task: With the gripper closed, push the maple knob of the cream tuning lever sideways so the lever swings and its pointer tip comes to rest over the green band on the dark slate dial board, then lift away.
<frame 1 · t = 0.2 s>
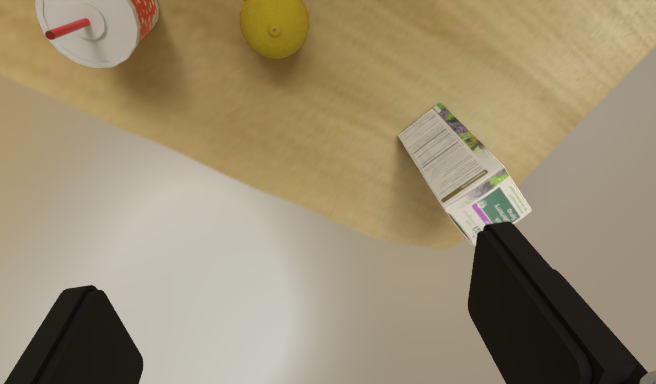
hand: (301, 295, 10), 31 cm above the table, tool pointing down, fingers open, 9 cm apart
beverage cup: (131, 5, 33), on the table
lemon: (274, 14, 35), on the table
syrup box: (429, 136, 43), on the table
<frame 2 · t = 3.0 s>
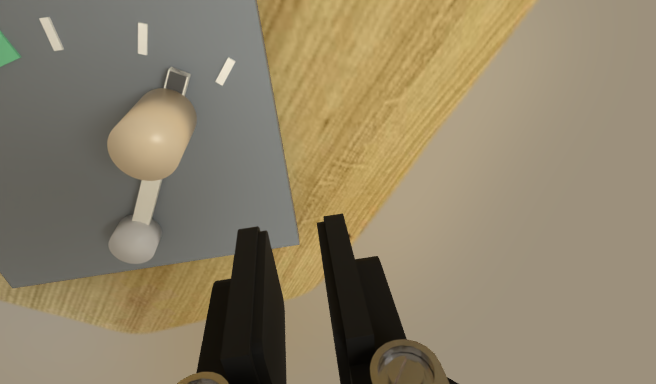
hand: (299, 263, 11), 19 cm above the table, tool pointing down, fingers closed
dial board: (112, 139, 28), on the table
tuning lever: (143, 190, 25), point 5 cm above the table, hinge at 0.0°
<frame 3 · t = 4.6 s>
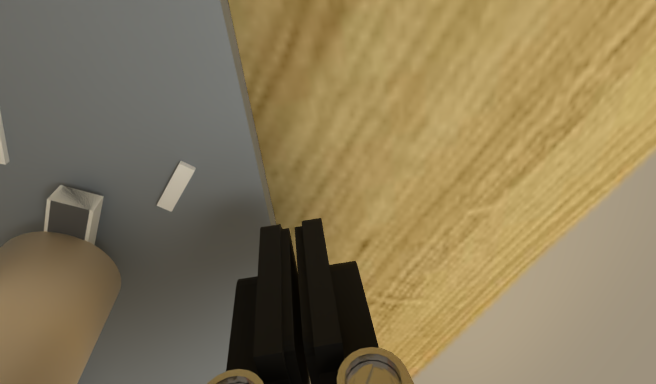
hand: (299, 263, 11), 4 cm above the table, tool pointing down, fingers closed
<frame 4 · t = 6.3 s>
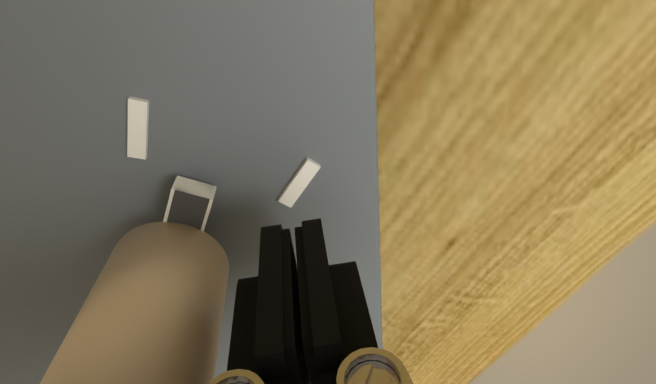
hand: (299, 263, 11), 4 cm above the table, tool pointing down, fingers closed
dial board: (82, 281, 16), on the table
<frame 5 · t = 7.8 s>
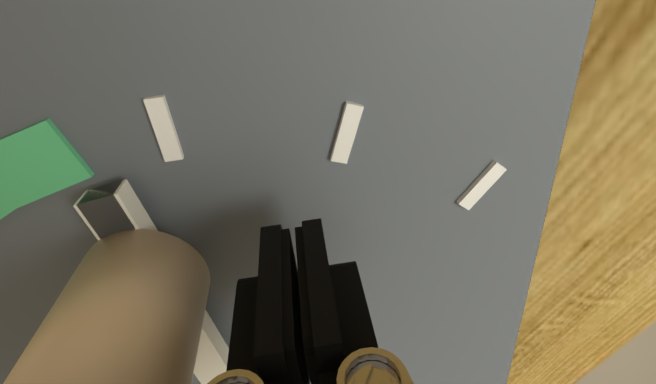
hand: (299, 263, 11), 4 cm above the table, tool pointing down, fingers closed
dial board: (231, 287, 16), on the table
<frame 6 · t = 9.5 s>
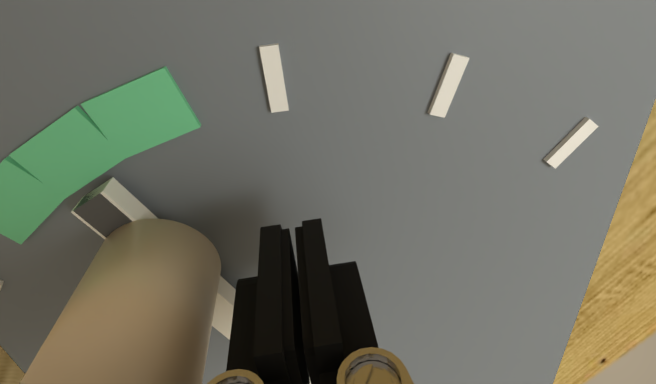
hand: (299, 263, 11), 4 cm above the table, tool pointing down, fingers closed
dial board: (305, 249, 16), on the table
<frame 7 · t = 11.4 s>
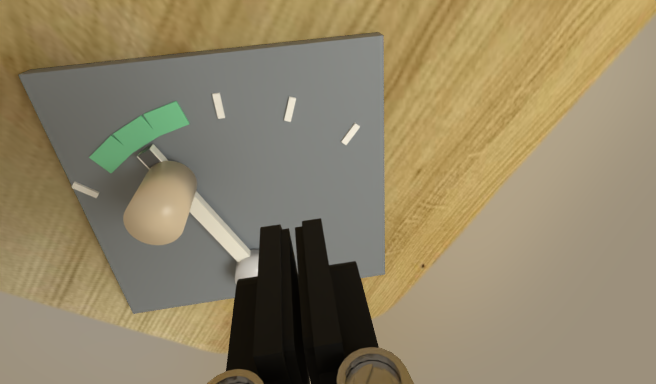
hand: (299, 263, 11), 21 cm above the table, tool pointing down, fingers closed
dial board: (240, 186, 33), on the table
tuning lever: (207, 241, 29), point 5 cm above the table, hinge at 55.0°
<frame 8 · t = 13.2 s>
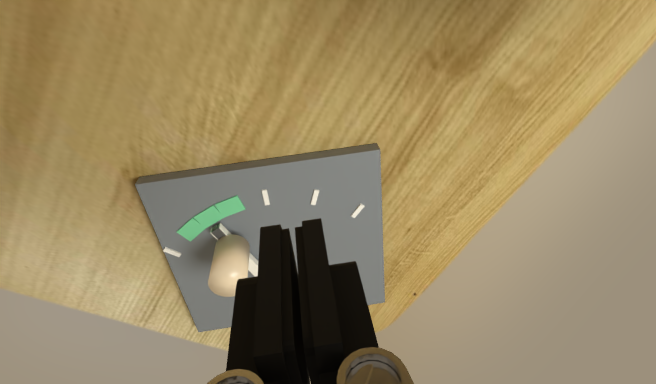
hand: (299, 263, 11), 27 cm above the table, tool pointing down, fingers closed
dial board: (278, 243, 45), on the table
tuning lever: (257, 287, 42), point 5 cm above the table, hinge at 55.0°
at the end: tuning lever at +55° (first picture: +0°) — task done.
